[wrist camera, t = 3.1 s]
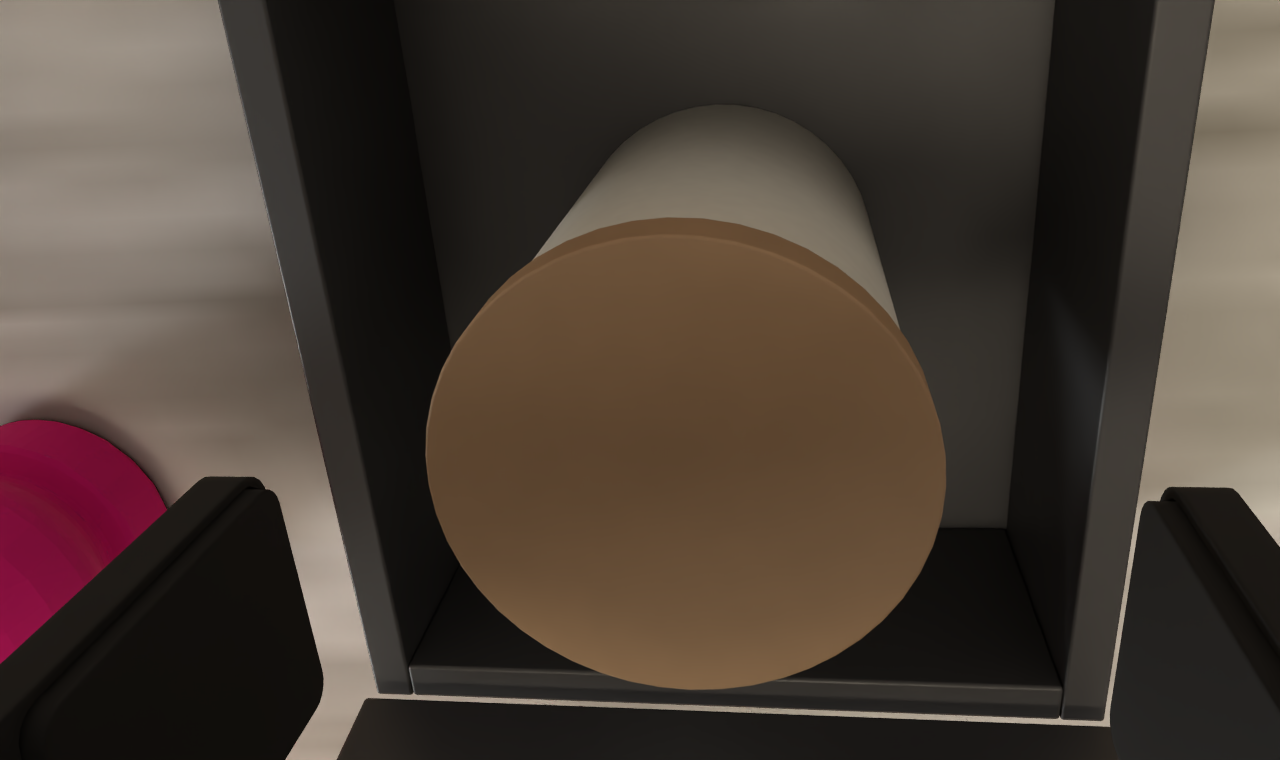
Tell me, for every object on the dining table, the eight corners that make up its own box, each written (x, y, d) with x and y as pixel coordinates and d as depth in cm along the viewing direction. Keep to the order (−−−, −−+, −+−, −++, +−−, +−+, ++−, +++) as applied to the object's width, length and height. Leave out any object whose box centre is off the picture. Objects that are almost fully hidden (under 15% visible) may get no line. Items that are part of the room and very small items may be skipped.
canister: (511, 206, 22) (322, 404, 13) (774, 30, 20) (765, 121, 11) (677, 438, 24) (612, 752, 15) (934, 301, 22) (1041, 573, 13)
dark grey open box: (353, -114, 20) (186, -127, 15) (1106, -182, 18) (1251, -228, 13) (463, 531, 27) (376, 694, 21) (1031, 537, 25) (1104, 722, 19)
